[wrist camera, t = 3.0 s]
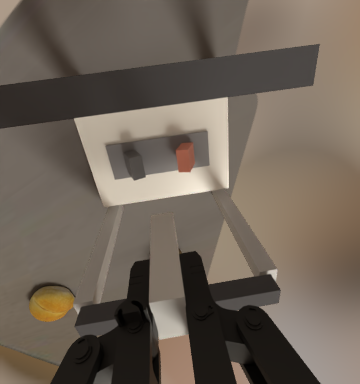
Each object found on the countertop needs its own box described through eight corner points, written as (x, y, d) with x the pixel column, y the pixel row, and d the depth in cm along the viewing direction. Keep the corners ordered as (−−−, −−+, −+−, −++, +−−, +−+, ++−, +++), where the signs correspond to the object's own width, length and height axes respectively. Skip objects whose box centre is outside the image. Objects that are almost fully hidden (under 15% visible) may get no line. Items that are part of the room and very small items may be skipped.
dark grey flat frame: (297, 49, 12) (319, 43, 10) (269, 286, 21) (278, 303, 19) (-34, 92, 11) (-66, 94, 10) (87, 318, 20) (81, 338, 19)
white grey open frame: (218, 68, 30) (309, 47, 12) (222, 192, 39) (276, 281, 21) (74, 87, 29) (-48, 94, 11) (113, 209, 38) (78, 316, 21)
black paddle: (134, 149, 29) (141, 155, 26) (139, 170, 30) (145, 177, 28) (123, 152, 28) (128, 158, 26) (128, 173, 30) (134, 180, 27)
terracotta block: (193, 142, 29) (188, 149, 26) (194, 163, 30) (190, 172, 27) (181, 142, 29) (175, 150, 26) (184, 163, 30) (178, 172, 28)
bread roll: (82, 292, 47) (77, 309, 44) (61, 313, 50) (54, 331, 46) (47, 277, 44) (37, 294, 40) (26, 300, 46) (15, 318, 43)
